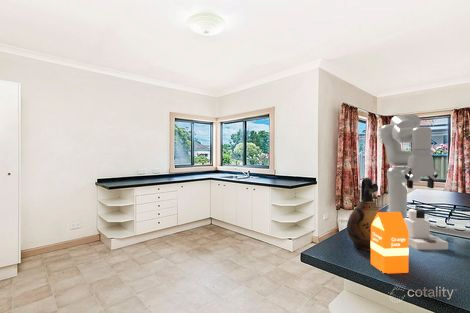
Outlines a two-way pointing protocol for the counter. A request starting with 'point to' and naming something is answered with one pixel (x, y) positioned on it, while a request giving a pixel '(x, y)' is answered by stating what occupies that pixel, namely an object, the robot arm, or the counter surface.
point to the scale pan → (421, 238)
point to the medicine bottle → (417, 224)
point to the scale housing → (428, 243)
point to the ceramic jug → (363, 217)
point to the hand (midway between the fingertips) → (420, 187)
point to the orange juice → (389, 243)
